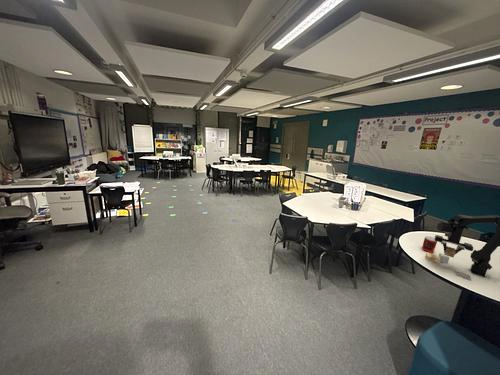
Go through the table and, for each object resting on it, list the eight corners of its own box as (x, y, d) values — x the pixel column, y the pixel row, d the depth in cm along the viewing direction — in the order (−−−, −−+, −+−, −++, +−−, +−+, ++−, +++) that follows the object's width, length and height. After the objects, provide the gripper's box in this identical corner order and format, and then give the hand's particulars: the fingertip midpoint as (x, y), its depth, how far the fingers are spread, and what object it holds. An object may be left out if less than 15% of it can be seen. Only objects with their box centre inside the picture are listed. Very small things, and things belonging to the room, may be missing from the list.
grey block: (445, 260, 153) (447, 254, 151) (447, 263, 149) (449, 257, 147) (437, 258, 155) (439, 252, 153) (439, 261, 151) (441, 255, 149)
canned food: (430, 248, 168) (434, 236, 165) (435, 254, 161) (439, 241, 158) (419, 247, 170) (423, 235, 167) (424, 252, 163) (428, 239, 160)
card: (469, 275, 136) (469, 274, 136) (470, 280, 131) (471, 279, 131) (455, 270, 141) (455, 270, 140) (455, 275, 136) (456, 274, 135)
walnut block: (452, 254, 141) (455, 248, 140) (453, 257, 138) (455, 251, 137) (444, 252, 144) (446, 246, 143) (444, 254, 141) (446, 248, 140)
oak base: (437, 260, 153) (438, 255, 152) (438, 264, 147) (440, 259, 146) (425, 256, 157) (426, 252, 156) (426, 260, 151) (427, 256, 150)
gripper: (474, 234, 137) (466, 254, 141) (437, 225, 149) (431, 244, 153) (477, 240, 129) (468, 261, 133) (438, 230, 140) (431, 249, 144)
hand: (449, 253), depth 141 cm, fingers closed on walnut block, 4 cm apart
